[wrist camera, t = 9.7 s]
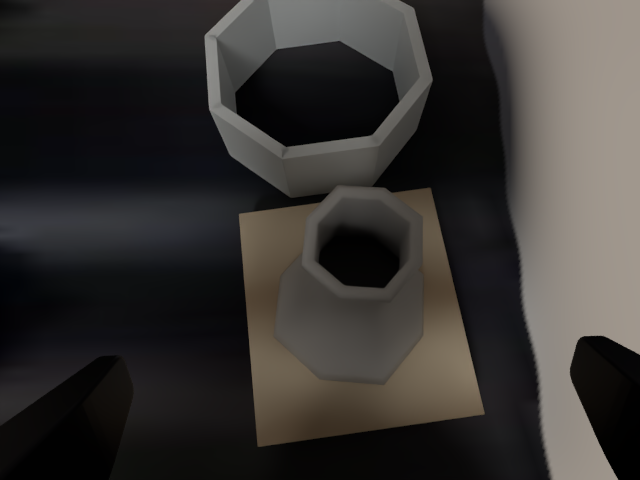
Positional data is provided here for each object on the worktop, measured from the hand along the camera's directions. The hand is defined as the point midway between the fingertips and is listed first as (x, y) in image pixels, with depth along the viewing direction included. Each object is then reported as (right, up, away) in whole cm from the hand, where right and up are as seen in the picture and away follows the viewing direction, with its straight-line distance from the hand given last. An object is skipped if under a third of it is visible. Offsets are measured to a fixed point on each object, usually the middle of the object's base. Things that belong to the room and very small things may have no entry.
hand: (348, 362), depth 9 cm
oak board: (+1, -1, +14) cm, 14 cm away
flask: (+1, -1, +12) cm, 12 cm away
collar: (-1, +10, +18) cm, 21 cm away
